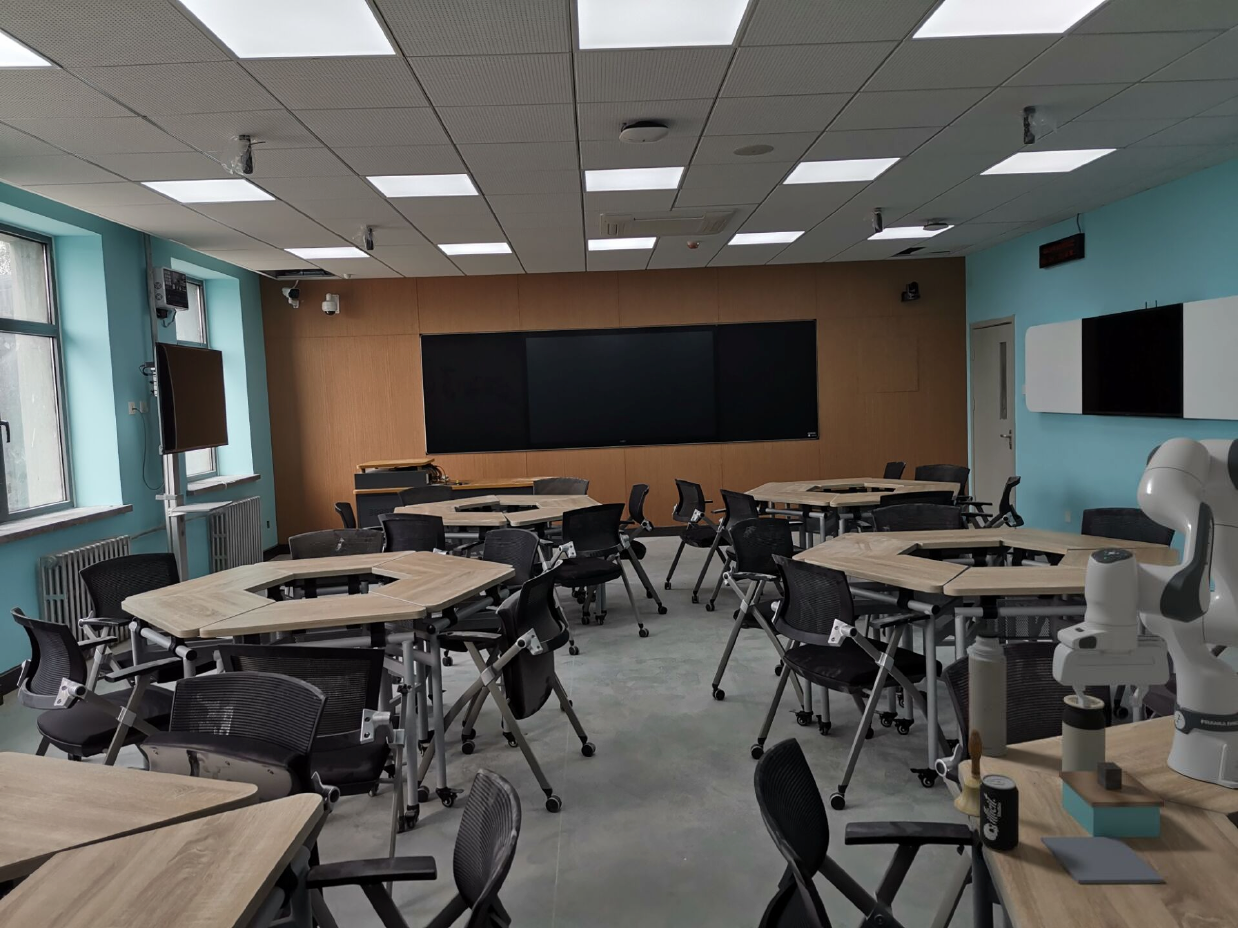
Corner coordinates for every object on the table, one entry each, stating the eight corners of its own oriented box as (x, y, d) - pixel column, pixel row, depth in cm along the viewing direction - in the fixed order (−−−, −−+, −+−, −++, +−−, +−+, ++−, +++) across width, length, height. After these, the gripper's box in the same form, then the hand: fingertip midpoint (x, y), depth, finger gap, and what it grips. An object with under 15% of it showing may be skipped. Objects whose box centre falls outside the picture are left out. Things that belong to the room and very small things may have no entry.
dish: (1123, 805, 169) (1124, 776, 168) (1159, 836, 157) (1159, 805, 156) (1062, 806, 169) (1062, 777, 169) (1093, 837, 157) (1093, 805, 157)
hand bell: (995, 821, 164) (995, 741, 163) (950, 811, 169) (949, 733, 168) (1001, 803, 171) (1001, 726, 170) (958, 794, 176) (957, 719, 175)
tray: (1118, 839, 156) (1118, 836, 156) (1163, 882, 142) (1163, 879, 142) (1040, 840, 157) (1040, 837, 157) (1078, 882, 143) (1078, 879, 143)
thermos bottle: (963, 750, 198) (962, 632, 196) (977, 739, 203) (977, 625, 201) (998, 759, 192) (998, 638, 190) (1011, 748, 197) (1011, 630, 195)
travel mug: (1101, 795, 173) (1102, 709, 172) (1058, 785, 178) (1059, 702, 177) (1107, 781, 180) (1108, 698, 178) (1065, 772, 185) (1066, 691, 183)
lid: (1125, 775, 169) (1125, 751, 169) (1164, 806, 156) (1164, 780, 156) (1058, 776, 169) (1058, 751, 169) (1092, 807, 157) (1092, 780, 156)
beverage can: (1022, 854, 152) (1022, 789, 152) (983, 851, 154) (983, 787, 153) (1013, 835, 159) (1013, 773, 158) (976, 833, 160) (976, 771, 159)
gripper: (1157, 629, 163) (1156, 700, 164) (1048, 631, 164) (1048, 701, 165) (1177, 638, 157) (1176, 711, 158) (1064, 640, 158) (1064, 713, 159)
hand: (1110, 706), depth 161 cm, fingers open, 8 cm apart
